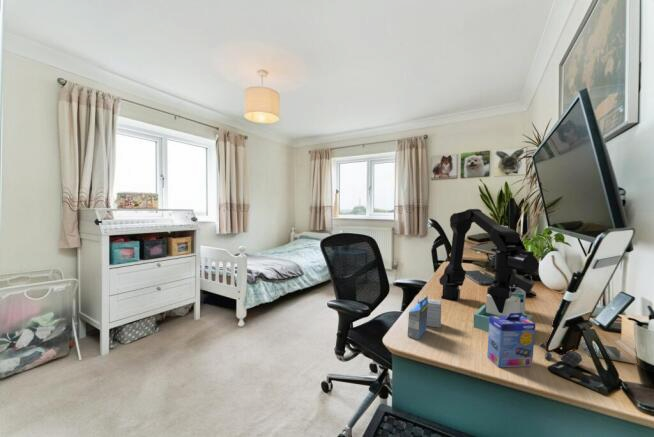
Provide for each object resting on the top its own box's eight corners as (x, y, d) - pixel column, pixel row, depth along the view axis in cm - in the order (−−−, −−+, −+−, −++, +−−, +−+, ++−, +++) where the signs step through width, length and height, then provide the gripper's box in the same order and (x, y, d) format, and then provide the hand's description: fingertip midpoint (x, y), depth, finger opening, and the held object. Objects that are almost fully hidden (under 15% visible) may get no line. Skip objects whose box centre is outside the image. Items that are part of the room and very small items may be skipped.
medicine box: (440, 323, 100) (440, 299, 100) (440, 328, 96) (441, 304, 95) (417, 320, 103) (417, 297, 102) (417, 325, 98) (417, 301, 98)
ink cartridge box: (499, 368, 72) (502, 315, 72) (485, 357, 78) (487, 307, 77) (534, 367, 73) (537, 314, 72) (518, 355, 79) (520, 306, 78)
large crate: (473, 328, 97) (473, 314, 97) (483, 317, 106) (483, 304, 106) (525, 343, 87) (526, 327, 86) (531, 329, 96) (531, 315, 96)
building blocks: (582, 360, 72) (547, 338, 76) (568, 374, 74) (535, 352, 78) (580, 355, 74) (547, 334, 79) (567, 369, 76) (536, 347, 80)
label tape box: (415, 326, 97) (416, 292, 96) (427, 330, 95) (428, 295, 94) (407, 336, 90) (408, 299, 89) (419, 340, 87) (420, 302, 87)
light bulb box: (525, 318, 105) (526, 290, 105) (505, 316, 106) (507, 289, 106) (512, 307, 116) (513, 282, 115) (494, 306, 117) (495, 281, 116)
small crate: (485, 312, 97) (486, 295, 97) (490, 307, 102) (490, 291, 101) (516, 319, 91) (517, 302, 91) (519, 314, 95) (520, 297, 95)
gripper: (529, 275, 83) (526, 325, 84) (536, 265, 97) (534, 308, 98) (487, 269, 91) (485, 315, 92) (500, 260, 104) (498, 301, 105)
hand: (502, 310), depth 96 cm, fingers closed on small crate, 6 cm apart
